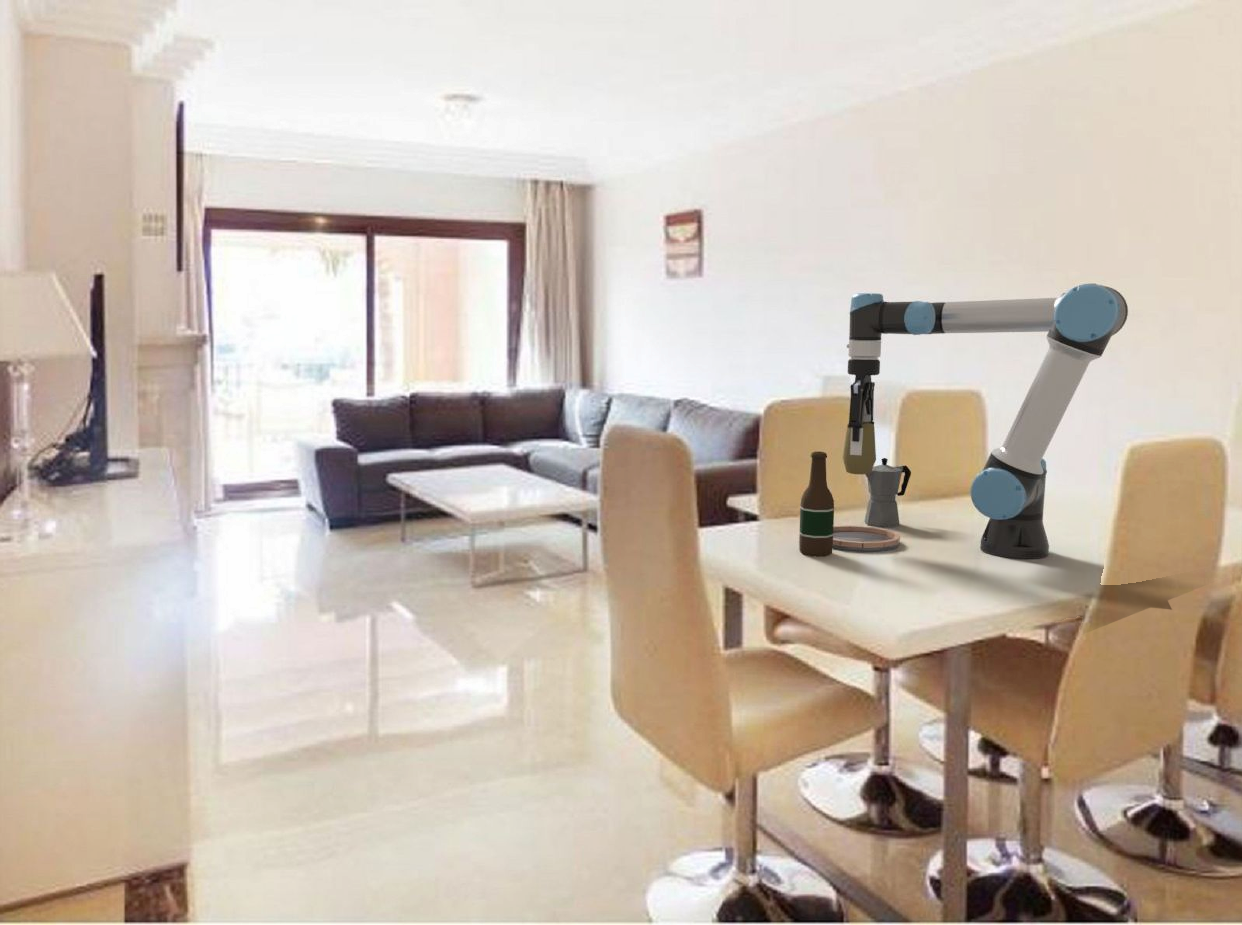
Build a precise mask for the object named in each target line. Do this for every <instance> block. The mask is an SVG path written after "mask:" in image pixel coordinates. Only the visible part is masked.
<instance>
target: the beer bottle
mask: <svg viewBox="0 0 1242 925" xmlns="http://www.w3.org/2000/svg"><path fill="white" fill-rule="evenodd" d="M810 458H811V466H810V476H809V483H808V486H807V487H806V489H805V490H804V491H803V493H802V496H801V499H800V509H799V537H798V538H799V541H798V542H799V543H798V544H799V546H798V549H799V552H800V553H801V554H802V555H803V556H808V557H814V556H816V557H827V556H830V554H831V555H832V554H833V526H835V524H834V521H835V520H834V519H835V500H834V498H833V494H832V492H831V490H830V489H829V486H828V482H827V458H828V453H827V452H825V451H813V452H811V454H810Z"/></svg>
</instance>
